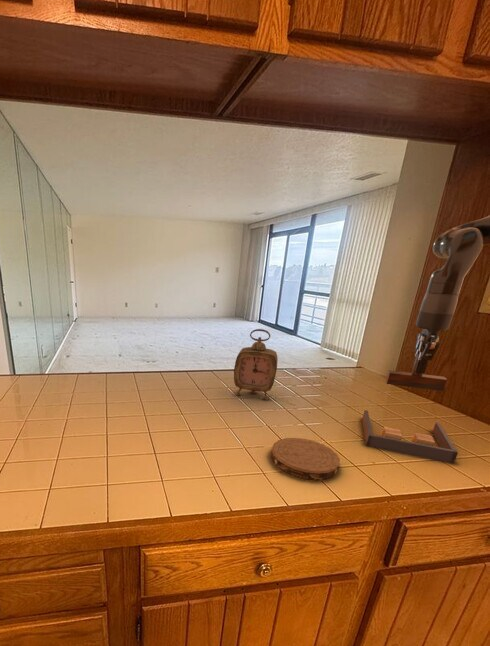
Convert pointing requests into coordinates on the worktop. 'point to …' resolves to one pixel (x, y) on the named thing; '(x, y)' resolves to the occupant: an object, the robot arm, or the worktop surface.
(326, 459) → the brown disc
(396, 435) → the cube
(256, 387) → the tabletop clock
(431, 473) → the worktop surface
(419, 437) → the cube
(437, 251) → the robot arm
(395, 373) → the brush
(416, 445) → the corral
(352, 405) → the worktop surface
